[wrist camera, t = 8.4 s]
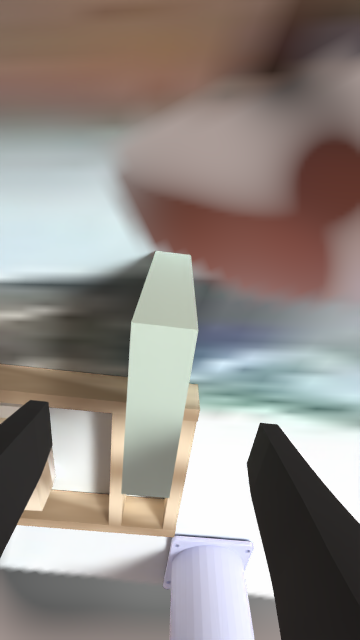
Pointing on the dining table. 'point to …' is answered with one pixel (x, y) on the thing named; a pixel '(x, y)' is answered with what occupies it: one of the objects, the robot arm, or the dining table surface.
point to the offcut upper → (39, 488)
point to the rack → (111, 398)
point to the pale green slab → (159, 375)
